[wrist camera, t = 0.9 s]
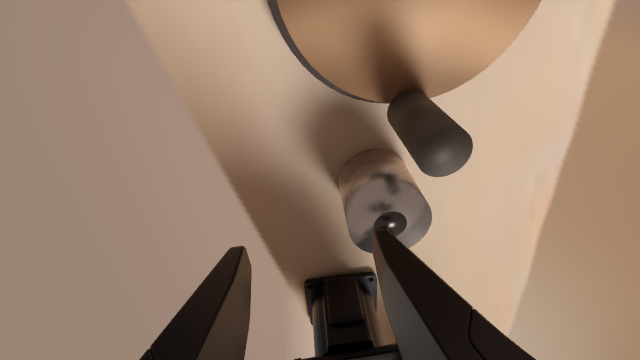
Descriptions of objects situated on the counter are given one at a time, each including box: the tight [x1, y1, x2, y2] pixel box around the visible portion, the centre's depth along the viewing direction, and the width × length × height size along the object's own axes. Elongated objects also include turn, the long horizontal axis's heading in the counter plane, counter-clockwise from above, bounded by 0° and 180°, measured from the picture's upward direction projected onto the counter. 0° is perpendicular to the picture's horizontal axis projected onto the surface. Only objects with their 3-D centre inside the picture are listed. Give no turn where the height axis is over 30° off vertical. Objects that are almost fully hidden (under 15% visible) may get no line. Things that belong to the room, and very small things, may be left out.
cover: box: [339, 149, 432, 253], centre depth 21 cm, size 5×5×5 cm
